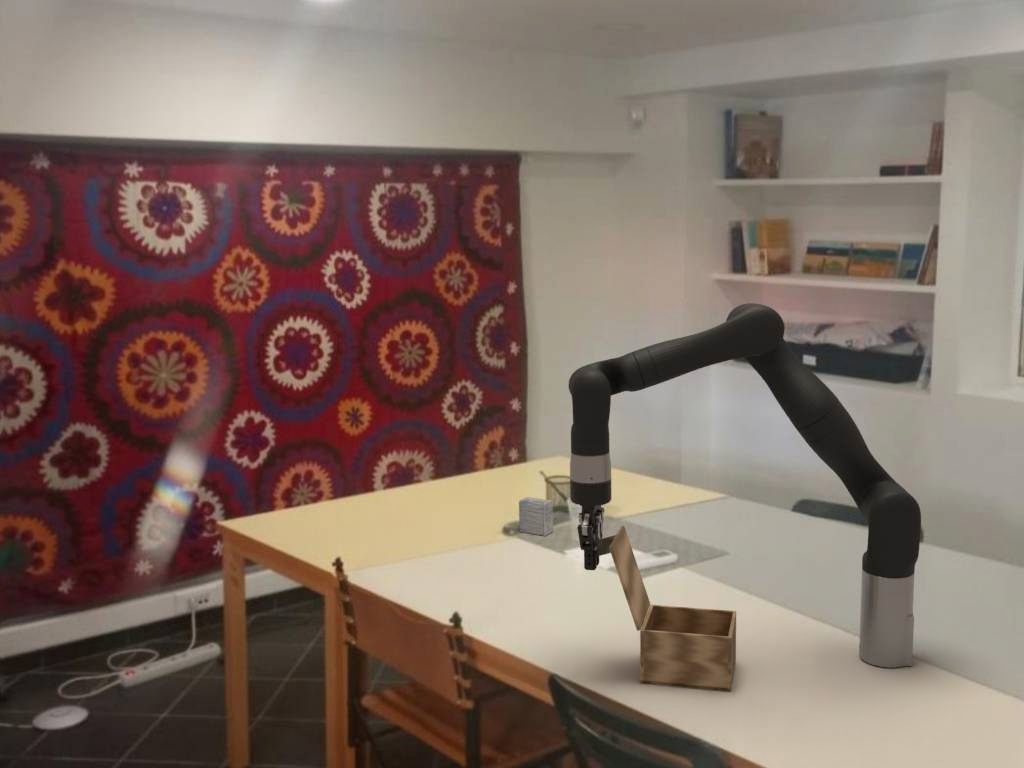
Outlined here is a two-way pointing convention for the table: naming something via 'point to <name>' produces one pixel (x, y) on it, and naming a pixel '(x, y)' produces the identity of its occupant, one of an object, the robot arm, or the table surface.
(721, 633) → the wooden box
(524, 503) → the medicine box
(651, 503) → the table surface
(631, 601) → the lid flap
